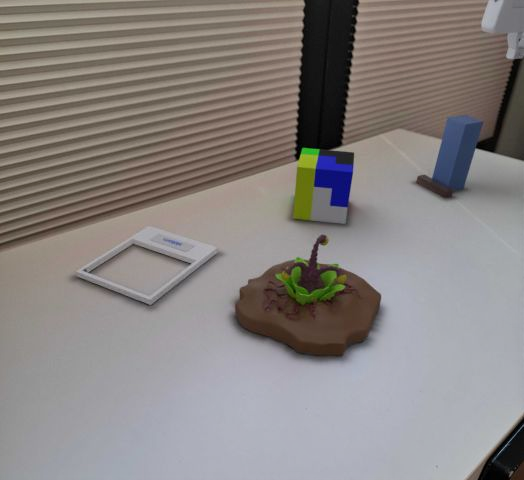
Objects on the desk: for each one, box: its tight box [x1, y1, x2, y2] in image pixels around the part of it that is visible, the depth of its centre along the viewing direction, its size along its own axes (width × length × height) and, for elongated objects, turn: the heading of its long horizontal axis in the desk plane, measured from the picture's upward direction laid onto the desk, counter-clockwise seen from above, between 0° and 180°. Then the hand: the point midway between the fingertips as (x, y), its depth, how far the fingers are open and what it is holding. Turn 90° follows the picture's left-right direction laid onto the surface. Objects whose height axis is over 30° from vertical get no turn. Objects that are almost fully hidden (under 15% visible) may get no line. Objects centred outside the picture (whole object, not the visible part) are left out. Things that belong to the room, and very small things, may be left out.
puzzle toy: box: [292, 147, 355, 225], centre depth 97 cm, size 10×10×10 cm
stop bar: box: [416, 174, 455, 199], centre depth 110 cm, size 2×9×2 cm, turn 29°
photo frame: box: [75, 225, 219, 306], centre depth 83 cm, size 15×1×18 cm
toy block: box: [431, 114, 484, 192], centre depth 107 cm, size 5×5×14 cm
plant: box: [234, 234, 382, 357], centre depth 72 cm, size 20×20×11 cm
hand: (514, 58), depth 99 cm, fingers closed
